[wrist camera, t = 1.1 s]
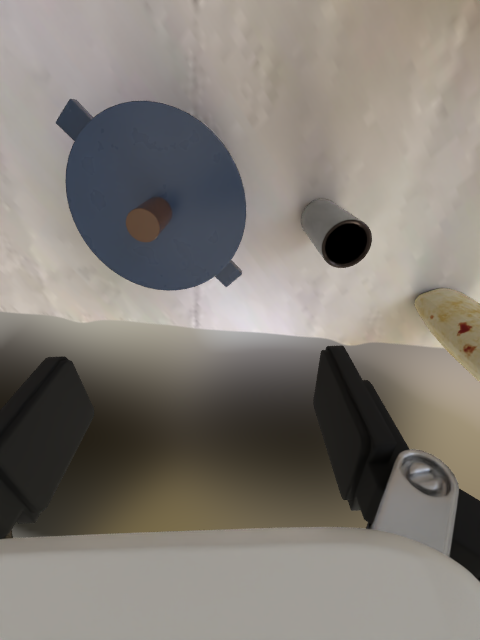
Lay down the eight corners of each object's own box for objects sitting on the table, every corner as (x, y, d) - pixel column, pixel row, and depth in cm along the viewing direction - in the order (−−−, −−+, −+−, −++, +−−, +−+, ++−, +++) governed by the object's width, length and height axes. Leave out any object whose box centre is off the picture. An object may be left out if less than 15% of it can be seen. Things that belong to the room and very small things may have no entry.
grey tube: (306, 242, 36) (328, 275, 27) (295, 208, 33) (315, 232, 25) (341, 227, 35) (376, 257, 26) (333, 191, 32) (367, 210, 24)
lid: (171, 311, 33) (158, 343, 28) (39, 203, 27) (-10, 218, 21) (280, 215, 27) (290, 233, 22) (144, 44, 21) (113, 13, 15)
